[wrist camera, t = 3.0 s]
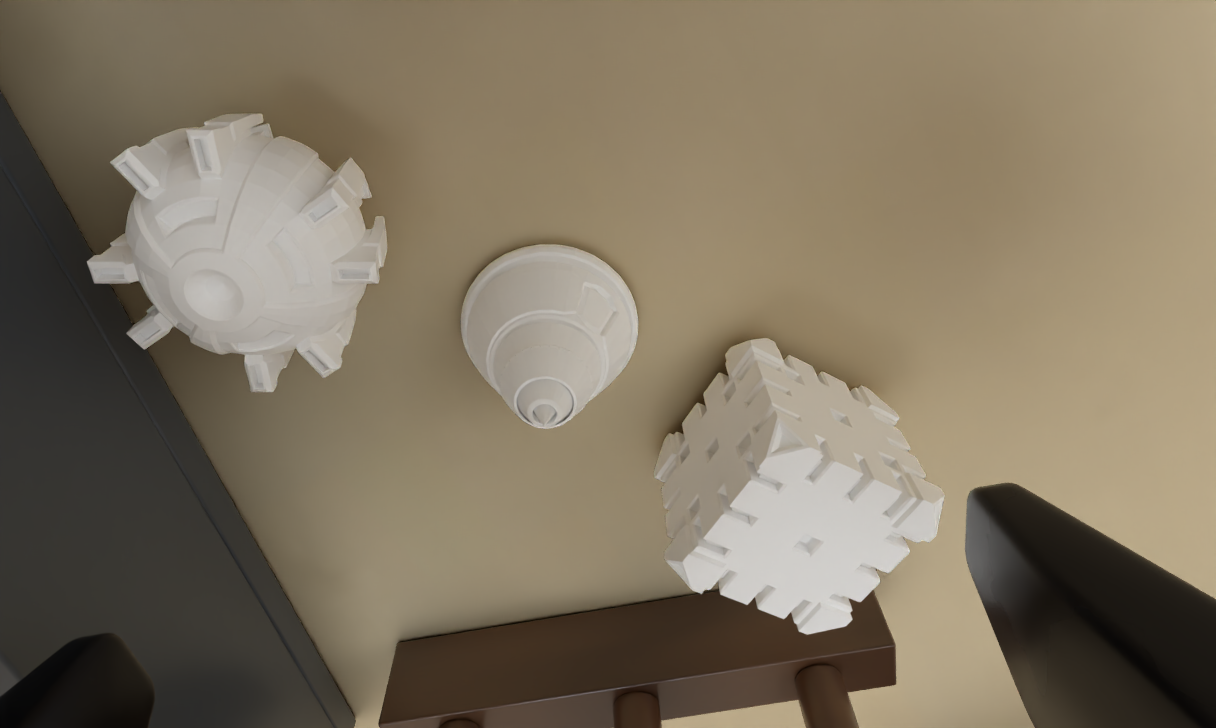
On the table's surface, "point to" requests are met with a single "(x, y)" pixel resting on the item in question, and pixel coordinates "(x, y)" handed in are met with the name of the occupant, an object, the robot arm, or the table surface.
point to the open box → (124, 497)
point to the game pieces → (529, 363)
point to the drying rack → (639, 668)
